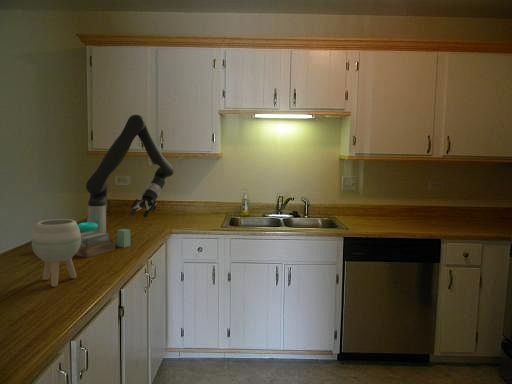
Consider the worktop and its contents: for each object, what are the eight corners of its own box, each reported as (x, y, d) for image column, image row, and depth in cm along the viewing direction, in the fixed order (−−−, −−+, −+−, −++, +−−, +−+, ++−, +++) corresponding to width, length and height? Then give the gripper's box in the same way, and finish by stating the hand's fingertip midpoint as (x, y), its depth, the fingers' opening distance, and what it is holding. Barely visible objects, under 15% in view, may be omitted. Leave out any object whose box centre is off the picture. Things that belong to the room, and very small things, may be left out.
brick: (117, 246, 198) (117, 230, 197) (123, 244, 202) (123, 228, 201) (124, 247, 196) (124, 231, 195) (130, 245, 200) (130, 229, 199)
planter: (88, 275, 152) (87, 218, 150) (70, 289, 136) (69, 226, 133) (46, 274, 151) (45, 217, 149) (23, 288, 135) (21, 225, 133)
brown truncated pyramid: (61, 252, 183) (60, 236, 182) (90, 245, 198) (89, 229, 198) (87, 257, 176) (87, 240, 175) (115, 249, 191) (115, 233, 191)
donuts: (98, 221, 210) (96, 225, 201) (99, 239, 211) (96, 244, 202) (78, 222, 208) (75, 225, 198) (79, 240, 209) (75, 244, 199)
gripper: (138, 188, 217) (124, 210, 207) (159, 189, 211) (145, 213, 201) (145, 196, 222) (131, 219, 213) (165, 198, 216) (151, 221, 207)
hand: (138, 216), depth 207 cm, fingers open, 8 cm apart
